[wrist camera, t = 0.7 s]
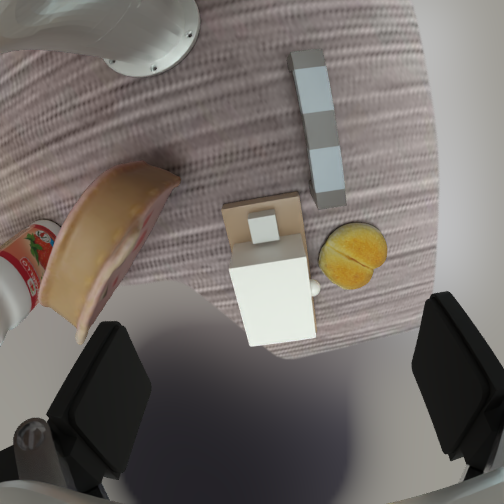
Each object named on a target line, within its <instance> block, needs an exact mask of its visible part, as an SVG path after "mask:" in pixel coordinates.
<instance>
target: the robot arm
mask: <svg viewBox="0 0 504 504" xmlns="http://www.w3.org/2000/svg"><path fill="white" fill-rule="evenodd" d="M200 23H201V20H200V12H199V9H198V6H197V4H196V2H195V0H0V54H3V53H7V52H12V51H19V50H47V51H57V52H66V53H74V54H81V55H87V56H93V57H99V58H103V60H104V62H105V63H106V64H107V65H108V66H109V67H110V68H111V69H113V70H114V71H116V72H117V73H120V74H122V75H124V76H130V77H138V78H143V77H151V76H155V75H158V74H161V73H163V72H165V71H168V70H170V69H171V68H173V67H174V66H175V65H177V64H178V63H179V62H180V61H182V60H183V59H184V58H185V57H186V56H187V54H188V53H189V52H190V50H191V49H192V47H193V46H194V44H195V42H196V40H197V37H198V34H199V31H200ZM190 34H192V35H193V36H192V37H191V38H189V35H190ZM114 60H116V61H115V63H114ZM155 67H157V70H156V71H155V70H154V68H155ZM412 371H413V374H414V377H415V379H416V381H417V384H418V386H419V389H420V391H421V394H422V396H423V399H424V402H425V404H426V407H427V409H428V412H429V415H430V417H431V420H432V423H433V425H434V428H435V431H436V434H437V437H438V440H439V442H440V445H441V448H442V451H443V452H444V454H448V455H449V458H450V461H453V460H456V459H458V458H461V457H464V459H465V462H466V467H465V469H464V472H463V474H462V476H461V478H460V481H459V483H458V484H455V485H452V486H449V487H446V488H443V489H440V490H437V491H433V492H430V493H427V494H423V495H420V496H416V497H412V498H409V499H405V500H401V501H397V502H393V503H388V504H504V369H503V367H502V365H501V364H500V362H499V360H498V359H497V357H496V356H495V355H494V353H493V351H492V350H491V348H490V347H489V345H488V344H487V342H486V341H485V339H484V338H483V336H482V335H481V333H479V331H478V329H477V328H476V326H475V325H474V324H473V322H472V321H471V319H470V318H469V317H468V315H467V314H466V313H465V311H464V310H463V308H462V307H461V306H460V304H459V303H458V302H457V300H456V299H455V298H454V297H453V295H452V294H451V293H450V292H448V291H446V292H440V293H434V294H431V296H430V299H427V300H426V302H425V306H424V311H423V316H422V321H421V325H420V330H419V334H418V339H417V344H416V347H415V352H414V355H413V359H412ZM150 393H151V382H150V380H149V378H148V376H147V374H146V372H145V370H144V367H143V365H142V363H141V361H140V359H139V357H138V355H137V352H136V350H135V348H134V346H133V344H132V341H131V339H130V337H129V334H128V332H127V330H126V328H125V327H124V326H122V325H121V324H120V323H119V322H117V321H105V322H101V323H100V324H99V325H98V327H97V329H96V330H95V332H94V334H93V335H92V337H91V338H90V340H89V341H88V343H87V345H86V346H85V348H84V349H83V351H82V353H81V354H80V356H79V358H78V359H77V361H76V363H75V364H74V366H73V368H72V369H71V371H70V373H69V374H68V376H67V378H66V380H65V381H64V383H63V385H62V387H61V388H60V390H59V392H58V394H57V395H56V397H55V399H54V401H53V403H52V404H51V406H50V408H49V410H48V412H47V414H46V415H47V416H48V417H49V420H48V421H47V422H46V421H45V420H44V419H41V418H30V419H27V420H26V421H24V422H23V423H21V424H20V426H18V428H17V430H16V431H15V434H14V437H13V445H12V446H10V447H8V448H6V449H4V450H2V451H0V504H123V503H119V502H115V501H110V499H109V497H108V495H107V493H106V491H105V489H104V486H103V485H102V479H103V476H104V477H107V478H112V479H116V480H119V477H120V473H123V472H124V471H125V469H126V466H127V463H128V460H129V457H130V453H131V451H132V447H133V444H134V441H135V438H136V435H137V432H138V429H139V426H140V423H141V420H142V417H143V414H144V411H145V408H146V405H147V402H148V399H149V396H150Z"/></svg>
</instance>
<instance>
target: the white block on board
mask: <svg viewBox="0 0 504 504" xmlns="http://www.w3.org/2000/svg"><path fill="white" fill-rule="evenodd" d="M221 211H222V215H223V219H224V223H225V227H226V231H227V235H228V239H229V243H230V247H231V251H232V256H231V260H230V265H229V272H230V276H231V279H232V283H233V287H234V290H235V294H236V298H237V301H238V305H239V309H240V312H241V316H242V320H243V323H244V327H245V330H246V334H247V338H248V341H249V344H250V346H259V345H267V344H275V343H283V342H290V341H297V340H304V339H310V338H316V333H317V327H316V317H315V308H314V300H313V296H316V295H317V294H318V293H319V292H320V284H319V282H318V281H316V280H313V279H311V275H310V267H309V260H308V252H307V245H306V238H305V231H304V224H303V217H302V211H301V204H300V198H299V194H298V191H297V192H291V193H285V194H279V195H273V196H267V197H261V198H256V199H250V200H244V201H239V202H234V203H228V204H223V206H222V209H221Z"/></svg>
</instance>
